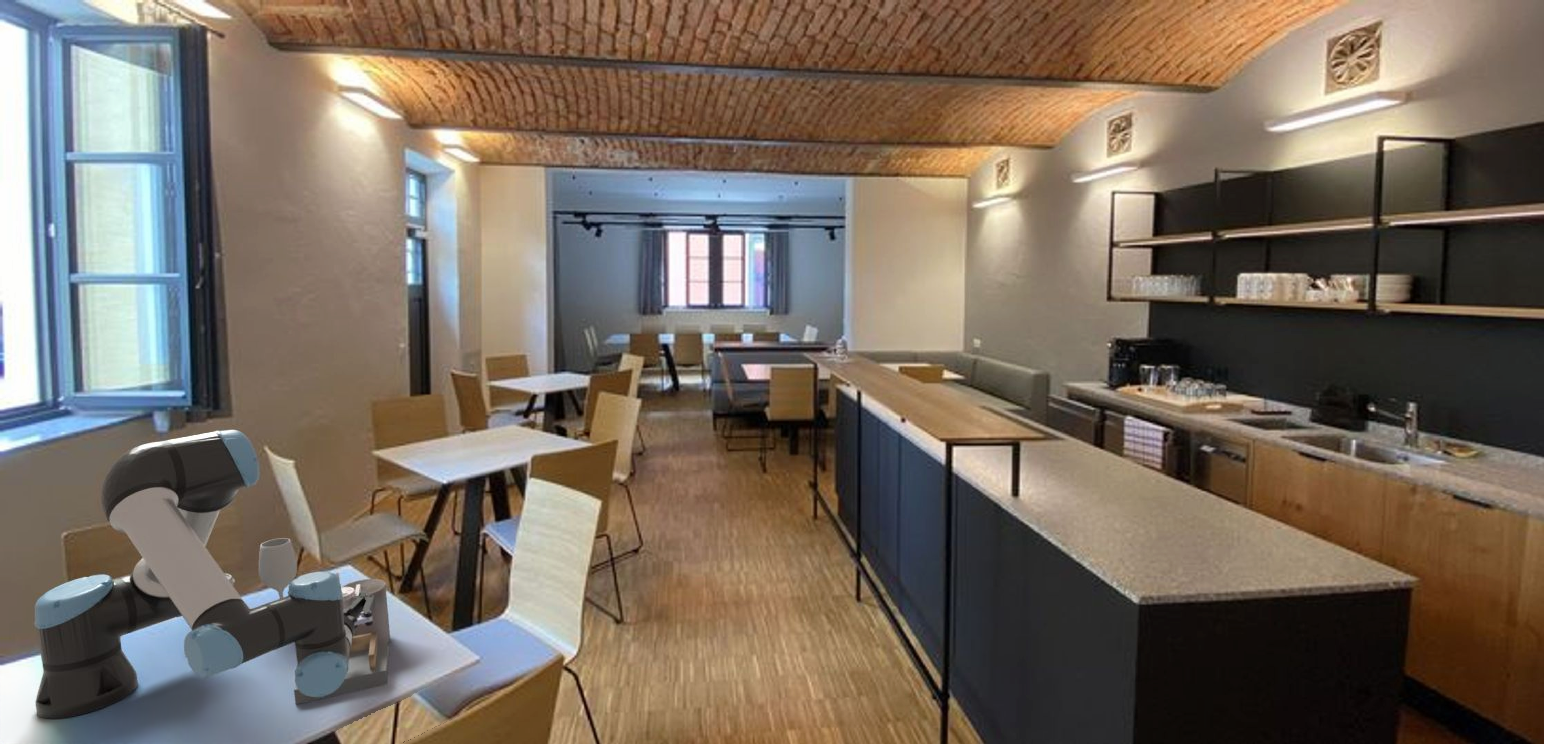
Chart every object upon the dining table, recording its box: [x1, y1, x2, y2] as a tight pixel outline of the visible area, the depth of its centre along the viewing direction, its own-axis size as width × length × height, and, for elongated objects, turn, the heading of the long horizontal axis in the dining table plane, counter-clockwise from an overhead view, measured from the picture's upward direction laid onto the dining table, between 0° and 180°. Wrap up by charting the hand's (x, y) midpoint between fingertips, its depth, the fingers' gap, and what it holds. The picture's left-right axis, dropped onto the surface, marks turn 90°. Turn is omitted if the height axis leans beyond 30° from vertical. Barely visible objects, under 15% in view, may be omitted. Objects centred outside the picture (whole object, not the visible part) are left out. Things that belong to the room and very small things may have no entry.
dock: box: [293, 643, 390, 705], centre depth 157 cm, size 16×13×3 cm
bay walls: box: [350, 632, 378, 669], centre depth 158 cm, size 12×11×3 cm
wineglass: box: [258, 537, 298, 599], centre depth 180 cm, size 8×8×21 cm
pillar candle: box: [342, 578, 391, 645], centre depth 171 cm, size 10×10×15 cm
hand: (340, 593), depth 160 cm, fingers closed on smoothie, 6 cm apart
